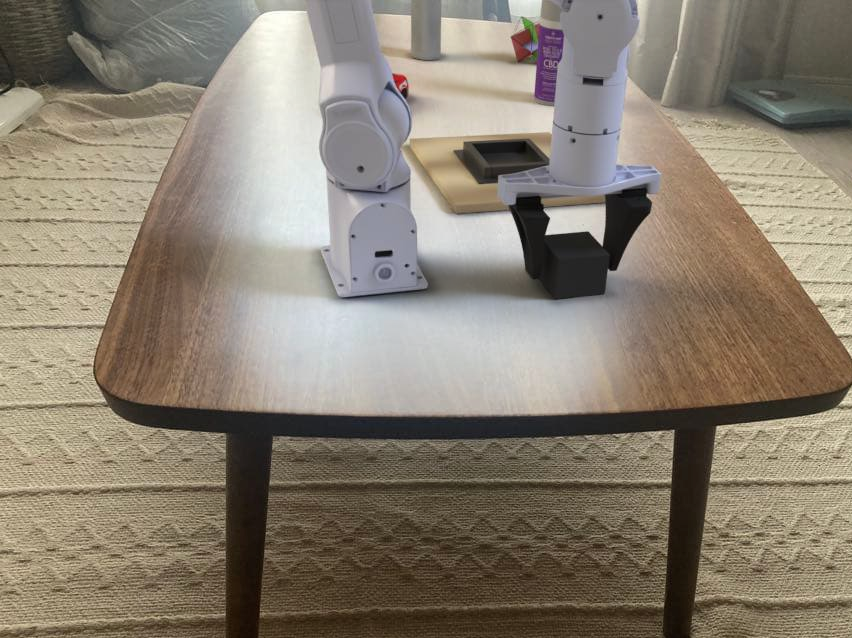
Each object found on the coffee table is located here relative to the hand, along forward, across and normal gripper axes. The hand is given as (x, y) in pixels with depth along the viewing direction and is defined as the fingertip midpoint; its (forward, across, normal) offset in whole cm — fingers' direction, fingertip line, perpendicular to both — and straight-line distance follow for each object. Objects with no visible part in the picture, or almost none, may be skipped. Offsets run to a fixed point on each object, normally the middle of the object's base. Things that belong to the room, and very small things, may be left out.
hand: (571, 270), depth 85 cm
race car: (+2, +7, -52) cm, 52 cm away
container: (+2, -18, -52) cm, 55 cm away
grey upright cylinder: (+2, -6, -75) cm, 75 cm away
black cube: (+1, 0, 0) cm, 1 cm away
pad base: (+1, -3, -27) cm, 27 cm away
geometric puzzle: (+2, -22, -71) cm, 74 cm away
